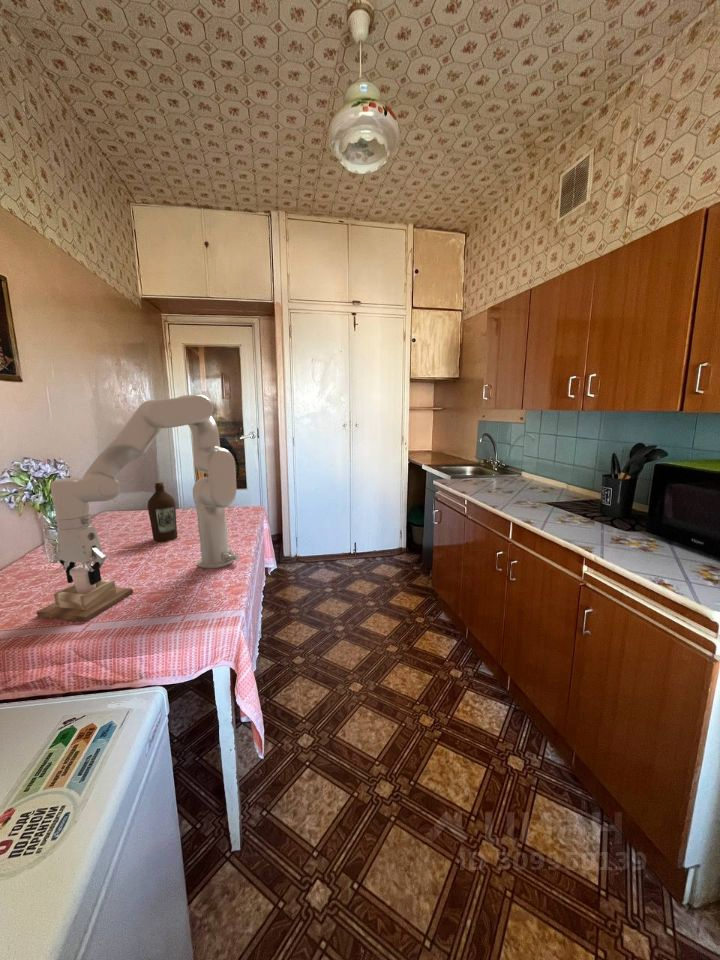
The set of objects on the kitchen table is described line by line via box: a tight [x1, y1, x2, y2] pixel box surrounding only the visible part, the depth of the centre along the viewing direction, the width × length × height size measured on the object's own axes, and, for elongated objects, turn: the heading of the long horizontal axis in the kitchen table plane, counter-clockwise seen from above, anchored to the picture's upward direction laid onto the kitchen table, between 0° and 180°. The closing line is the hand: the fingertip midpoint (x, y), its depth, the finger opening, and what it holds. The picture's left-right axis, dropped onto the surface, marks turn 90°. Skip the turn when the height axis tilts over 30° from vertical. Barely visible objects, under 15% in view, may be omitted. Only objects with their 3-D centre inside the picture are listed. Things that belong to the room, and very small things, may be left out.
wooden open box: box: [36, 578, 134, 623], centre depth 109 cm, size 16×16×6 cm
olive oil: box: [147, 481, 178, 543], centre depth 162 cm, size 11×11×25 cm
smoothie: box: [70, 563, 96, 594], centre depth 108 cm, size 6×6×14 cm
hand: (84, 581), depth 108 cm, fingers open, 6 cm apart
